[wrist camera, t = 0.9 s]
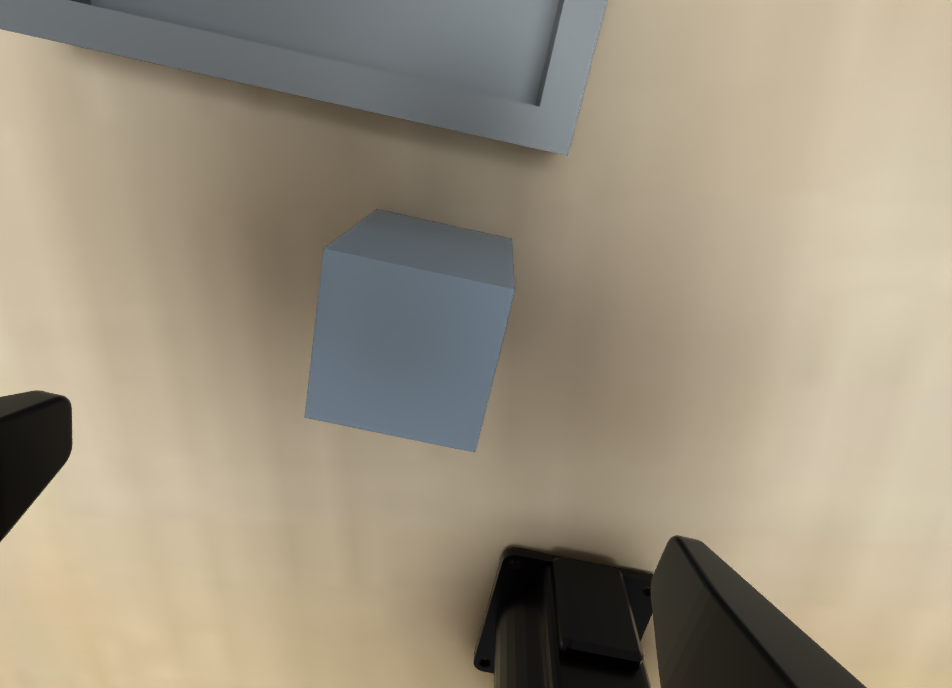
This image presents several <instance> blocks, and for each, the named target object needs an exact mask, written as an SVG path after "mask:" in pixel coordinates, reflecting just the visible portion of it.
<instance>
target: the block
mask: <svg viewBox="0 0 952 688" xmlns="http://www.w3.org/2000/svg"><path fill="white" fill-rule="evenodd" d="M514 291H515V283H514V266H513V250H512V239H510V238H506V237H501V236H497V235H492V234H487V233H483V232H478V231H474V230H469V229H465V228H460V227H455V226H451V225H446V224H442V223H437V222H432V221H428V220H423V219H419V218H414V217H409V216H405V215H400V214H396V213H391V212H386V211H382V210H377V209H376V210H375V211H374V212H372V213H371V214H370V215H368V216H367V217H366V218H364V219H363V220H361V221H360V222H359V223H357V224H356V225H355V226H353V227H352V228H351V229H349V230H348V231H347V232H345V233H344V234H343V235H341V236H340V237H339V238H337V239H336V240H335V241H333V242H332V243H331V244H329V245H328V246H326V247H325V248H324V250H323V259H322V268H321V276H320V285H319V294H318V303H317V312H316V321H315V330H314V339H313V348H312V356H311V365H310V374H309V383H308V392H307V401H306V410H305V418H309V419H314V420H319V421H324V422H329V423H334V424H339V425H343V426H348V427H353V428H358V429H363V430H368V431H373V432H378V433H382V434H387V435H392V436H397V437H402V438H407V439H412V440H417V441H422V442H426V443H431V444H436V445H441V446H446V447H451V448H456V449H461V450H465V451H470V452H476V448H477V444H478V440H479V436H480V431H481V427H482V423H483V419H484V415H485V411H486V407H487V403H488V399H489V394H490V390H491V386H492V382H493V378H494V374H495V370H496V366H497V361H498V357H499V353H500V349H501V345H502V341H503V337H504V333H505V329H506V324H507V320H508V316H509V312H510V308H511V304H512V300H513V296H514Z"/></svg>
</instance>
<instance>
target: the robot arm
mask: <svg viewBox="0 0 952 688" xmlns="http://www.w3.org/2000/svg"><path fill="white" fill-rule="evenodd" d="M71 450H72V407H71V403H70V401H69V399H68V398H66V397H65V396H62V395H58V394H53V393H49V392H44V391H37V390H36V391H30V392H24V393H19V394H14V395H8V396H3V397H0V542H1V541H2V540H3V538H4V537H5V536H6V535H7V534H8V533H9V531H10V530H11V529H12V528H13V526H14V525H15V524H16V523H17V522H18V520H19V519H20V518H21V517H22V516H23V514H24V513H25V512H26V511H27V509H28V508H29V507H30V506H31V505H32V503H33V502H34V501H35V500H36V498H37V497H38V496H39V495H40V494H41V492H42V491H43V490H44V489H45V488H46V486H47V485H48V484H49V483H50V481H51V480H52V479H53V478H54V477H55V475H56V474H57V473H58V472H59V470H60V469H61V468H62V467H63V466H64V464H65V463H66V461H67V460H68V458H69V456H70V453H71ZM511 560H517V561H518V562H516V563H512V562H510V561H511ZM645 587H650V588H648V589H644V588H645ZM652 613H653V621H654V630H655V639H656V649H657V658H658V667H659V677H660V684H661V688H867V687H865V686H864V685H863V684H862V683H861V682H860V681H859V680H858V679H856V678H855V677H854V676H853V675H852V674H851V673H850V672H848V671H847V670H846V669H845V668H844V667H843V666H842V665H841V664H839V663H838V662H837V661H836V660H835V659H834V658H833V657H832V656H830V655H829V654H828V653H827V652H826V651H825V650H824V649H822V648H821V647H820V646H819V645H818V644H817V643H816V642H815V641H813V640H812V639H811V638H810V637H809V636H808V635H807V634H806V633H804V632H803V631H802V630H801V629H800V628H799V627H798V626H796V625H795V624H794V623H793V622H792V621H791V620H790V619H789V618H787V617H786V616H785V615H784V614H783V613H782V612H781V611H780V610H778V609H777V608H776V607H775V606H774V605H773V604H772V603H771V602H769V601H768V600H767V599H766V598H765V597H764V596H763V595H761V594H760V593H759V592H758V591H757V590H756V589H755V588H754V587H752V586H751V585H750V584H749V583H748V582H747V581H746V580H745V579H743V578H742V577H741V576H740V575H739V574H738V573H737V572H736V571H734V570H733V569H732V568H731V567H730V566H729V565H728V564H726V563H725V562H724V561H723V560H722V559H721V558H720V557H719V556H717V555H716V554H715V553H714V552H713V551H712V550H711V549H710V548H708V547H707V546H706V545H705V544H704V543H703V542H701V541H699V540H696V539H692V538H687V537H682V536H678V535H676V536H673V537H671V538H670V540H669V541H668V543H667V545H666V547H665V549H664V552H663V554H662V556H661V558H660V561H659V563H658V565H657V568H656V570H655V572H654V574H653V575H650V574H645V573H640V572H635V571H630V570H625V569H620V568H615V567H610V566H605V565H600V564H594V563H589V562H584V561H579V560H574V559H569V558H564V557H559V556H554V555H549V554H544V553H539V552H534V551H529V550H524V549H519V548H510V549H507V550H506V551H504V553H503V555H502V557H501V561H500V564H499V568H498V571H497V575H496V578H495V582H494V585H493V589H492V592H491V596H490V599H489V603H488V606H487V610H486V613H485V617H484V620H483V624H482V628H481V631H480V635H479V638H478V642H477V645H476V649H475V652H474V665H475V667H476V668H477V669H478V670H481V671H484V672H490V673H494V688H651V686H650V682H649V679H648V675H647V671H646V667H645V663H644V659H643V656H644V655H643V652H642V648H641V644H640V641H641V638H642V636H643V634H644V631H645V629H646V627H647V624H648V622H649V620H650V617H651V615H652Z"/></svg>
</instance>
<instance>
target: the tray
mask: <svg viewBox="0 0 952 688" xmlns="http://www.w3.org/2000/svg"><path fill="white" fill-rule="evenodd" d="M606 4H607V0H0V29H3V30H7V31H12V32H16V33H21V34H25V35H30V36H34V37H39V38H43V39H48V40H52V41H56V42H61V43H65V44H70V45H74V46H79V47H83V48H88V49H92V50H97V51H101V52H106V53H110V54H115V55H119V56H124V57H128V58H132V59H137V60H141V61H146V62H150V63H155V64H159V65H164V66H168V67H173V68H177V69H182V70H186V71H191V72H195V73H200V74H204V75H208V76H213V77H217V78H222V79H226V80H231V81H235V82H240V83H244V84H249V85H253V86H258V87H262V88H267V89H271V90H275V91H280V92H284V93H289V94H293V95H298V96H302V97H307V98H311V99H316V100H320V101H325V102H329V103H334V104H338V105H343V106H347V107H351V108H356V109H360V110H365V111H369V112H374V113H378V114H383V115H387V116H392V117H396V118H401V119H405V120H410V121H414V122H419V123H423V124H427V125H432V126H436V127H441V128H445V129H450V130H454V131H459V132H463V133H468V134H472V135H477V136H481V137H486V138H490V139H495V140H499V141H503V142H508V143H512V144H517V145H521V146H526V147H530V148H535V149H539V150H544V151H548V152H553V153H557V154H562V155H566V156H568V153H569V149H570V145H571V141H572V137H573V133H574V129H575V125H576V121H577V118H578V114H579V110H580V106H581V102H582V98H583V94H584V90H585V86H586V82H587V78H588V74H589V71H590V67H591V63H592V59H593V55H594V51H595V47H596V43H597V39H598V35H599V31H600V27H601V24H602V20H603V16H604V12H605V8H606Z"/></svg>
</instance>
